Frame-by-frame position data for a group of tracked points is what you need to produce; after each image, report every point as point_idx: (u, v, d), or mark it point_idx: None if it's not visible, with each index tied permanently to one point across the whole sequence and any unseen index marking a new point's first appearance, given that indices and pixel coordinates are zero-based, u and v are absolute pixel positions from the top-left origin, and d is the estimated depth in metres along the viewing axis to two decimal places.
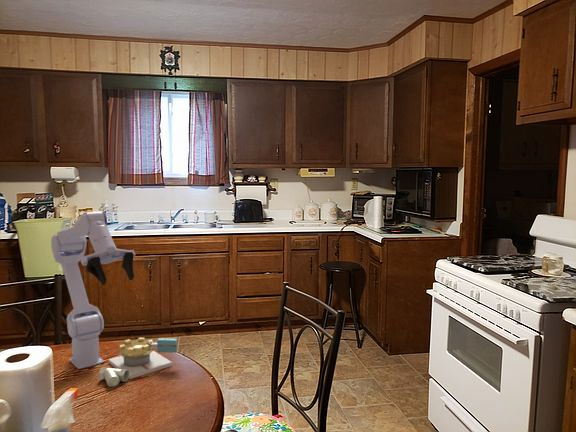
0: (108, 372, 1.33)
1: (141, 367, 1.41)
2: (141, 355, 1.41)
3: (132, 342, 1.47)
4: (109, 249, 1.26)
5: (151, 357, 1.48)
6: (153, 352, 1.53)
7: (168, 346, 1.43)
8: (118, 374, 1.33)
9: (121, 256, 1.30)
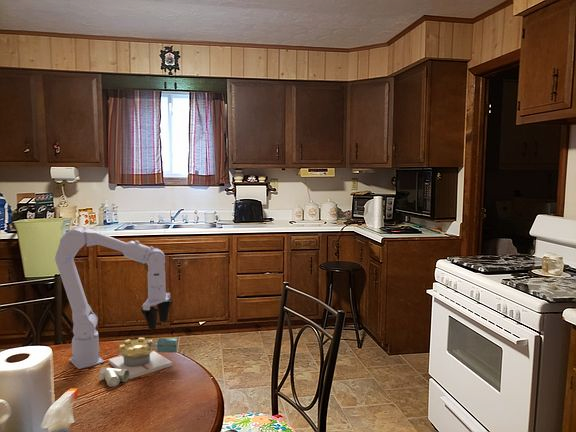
0: (108, 372, 1.33)
1: (141, 367, 1.41)
2: (141, 355, 1.41)
3: (132, 342, 1.47)
4: None
5: (151, 357, 1.48)
6: (153, 352, 1.53)
7: (168, 346, 1.43)
8: (118, 374, 1.33)
9: None
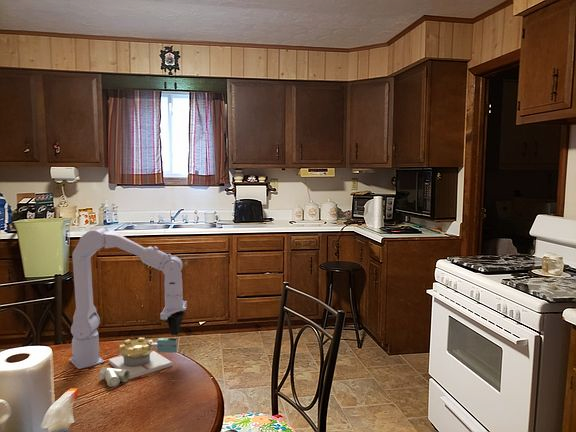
0: (108, 372, 1.33)
1: (141, 367, 1.41)
2: (141, 355, 1.41)
3: (132, 342, 1.47)
4: None
5: (151, 357, 1.48)
6: (153, 352, 1.53)
7: (168, 346, 1.43)
8: (118, 374, 1.33)
9: None
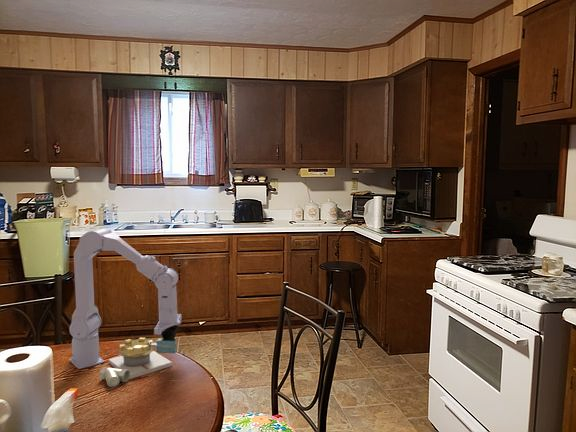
0: (108, 372, 1.33)
1: (141, 367, 1.41)
2: (140, 355, 1.41)
3: (133, 342, 1.48)
4: None
5: (151, 357, 1.48)
6: (153, 352, 1.53)
7: (167, 347, 1.43)
8: (118, 374, 1.33)
9: None
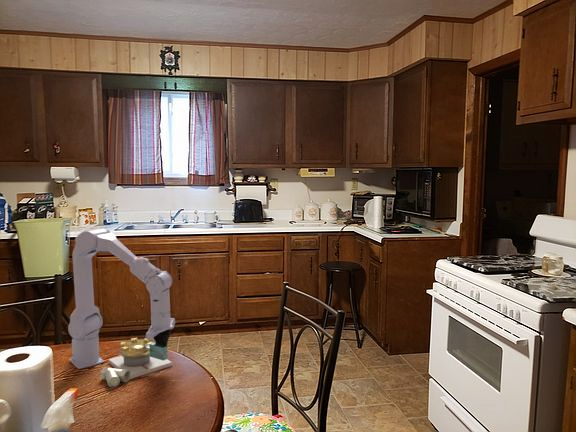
0: (109, 372, 1.33)
1: (141, 367, 1.41)
2: (132, 356, 1.40)
3: (138, 341, 1.48)
4: (169, 328, 1.40)
5: (151, 357, 1.48)
6: None
7: (157, 352, 1.38)
8: (119, 374, 1.33)
9: None
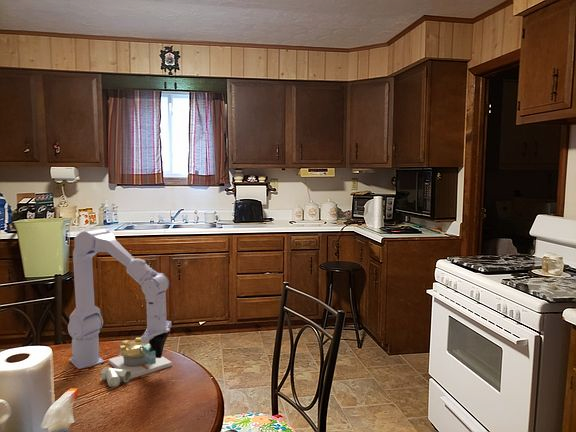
0: (109, 372, 1.33)
1: (141, 367, 1.41)
2: (127, 356, 1.40)
3: None
4: None
5: None
6: None
7: (147, 355, 1.36)
8: (119, 374, 1.33)
9: None
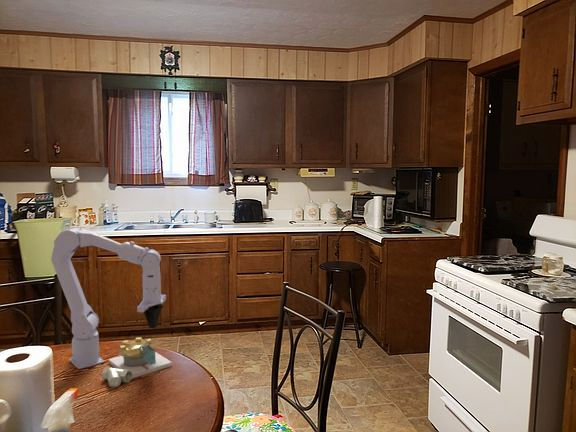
0: (110, 372, 1.33)
1: (141, 367, 1.41)
2: (127, 356, 1.40)
3: (141, 341, 1.48)
4: None
5: None
6: None
7: (147, 355, 1.36)
8: (120, 374, 1.33)
9: None
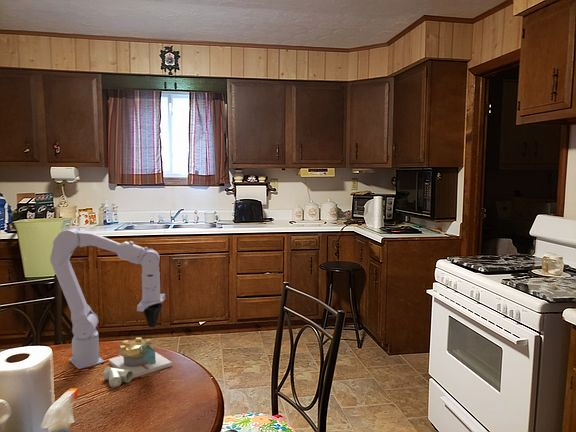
0: (111, 372, 1.33)
1: (141, 367, 1.41)
2: (127, 356, 1.40)
3: (141, 341, 1.48)
4: (159, 302, 1.49)
5: None
6: None
7: (147, 355, 1.36)
8: (121, 375, 1.33)
9: None
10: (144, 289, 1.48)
